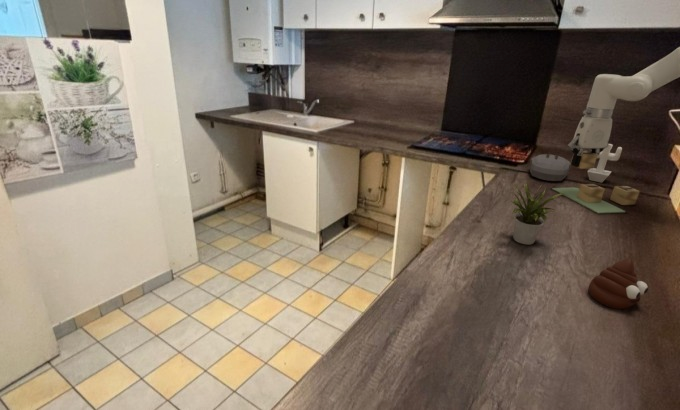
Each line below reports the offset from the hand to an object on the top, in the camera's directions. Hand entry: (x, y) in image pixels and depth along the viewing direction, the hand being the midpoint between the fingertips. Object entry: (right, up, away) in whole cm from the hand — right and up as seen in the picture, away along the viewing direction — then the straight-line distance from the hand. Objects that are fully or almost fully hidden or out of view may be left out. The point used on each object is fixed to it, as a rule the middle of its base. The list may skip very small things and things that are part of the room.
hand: (581, 165), depth 127 cm
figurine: (+19, -4, +19) cm, 27 cm away
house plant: (-37, -24, -28) cm, 52 cm away
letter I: (+1, -12, -2) cm, 13 cm away
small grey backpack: (+1, -2, +23) cm, 23 cm away
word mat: (+1, -12, -1) cm, 12 cm away
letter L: (0, 0, 0) cm, 0 cm away
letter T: (+12, -13, -2) cm, 18 cm away
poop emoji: (-28, -34, -51) cm, 68 cm away
